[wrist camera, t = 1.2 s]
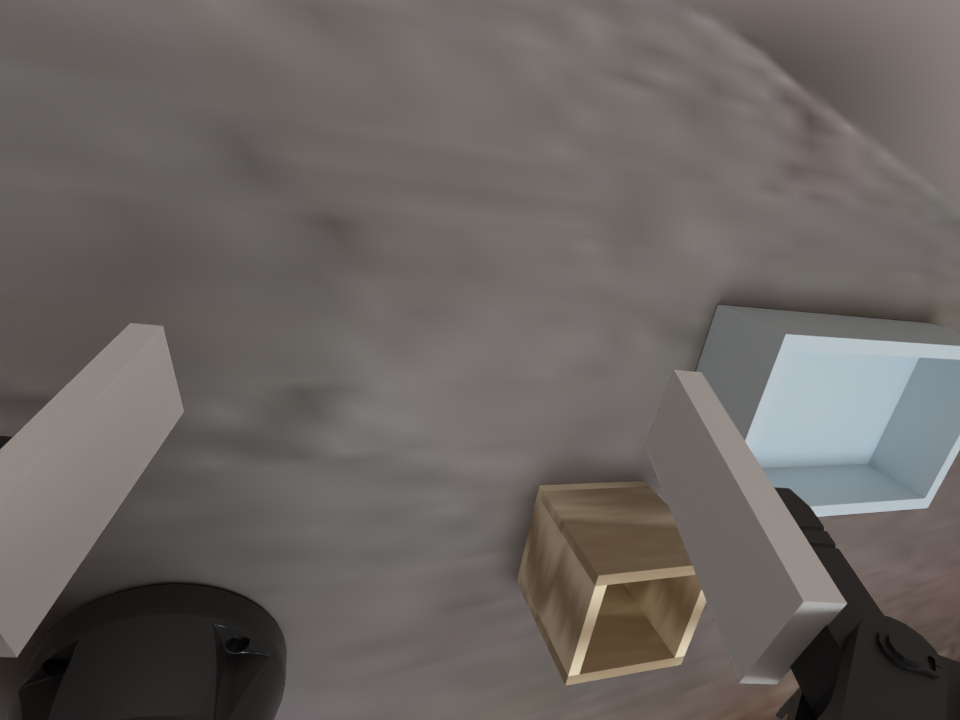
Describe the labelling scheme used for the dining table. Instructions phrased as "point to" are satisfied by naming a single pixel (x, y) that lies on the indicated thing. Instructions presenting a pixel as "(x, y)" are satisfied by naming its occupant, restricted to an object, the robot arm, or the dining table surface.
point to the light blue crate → (840, 403)
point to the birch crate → (609, 580)
